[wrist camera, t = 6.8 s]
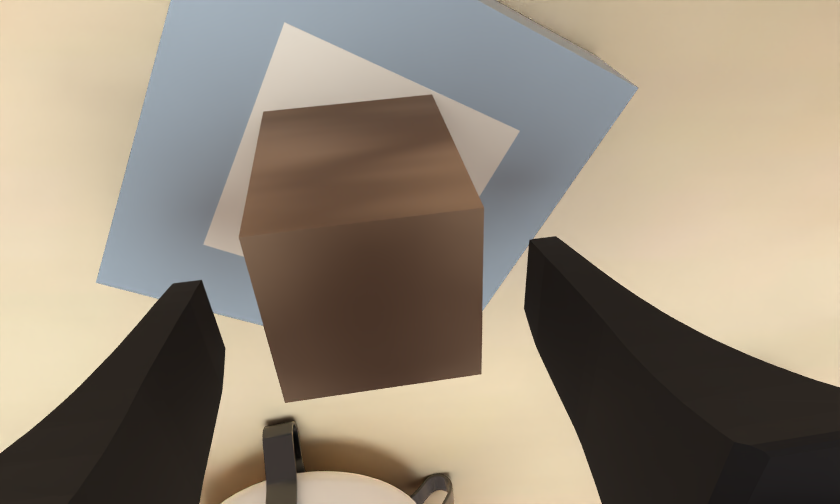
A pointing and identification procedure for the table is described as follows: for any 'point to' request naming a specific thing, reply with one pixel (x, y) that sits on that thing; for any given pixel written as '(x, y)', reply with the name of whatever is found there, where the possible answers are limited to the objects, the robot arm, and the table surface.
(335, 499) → the coffee press
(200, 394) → the robot arm
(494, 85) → the slate plinth
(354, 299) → the walnut block
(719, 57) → the table surface
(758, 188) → the table surface
